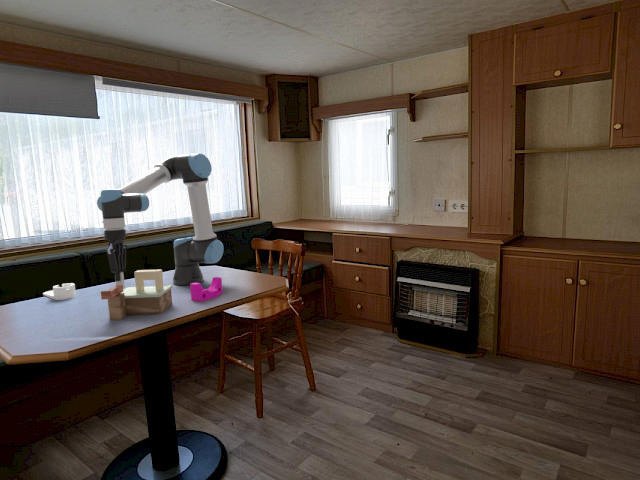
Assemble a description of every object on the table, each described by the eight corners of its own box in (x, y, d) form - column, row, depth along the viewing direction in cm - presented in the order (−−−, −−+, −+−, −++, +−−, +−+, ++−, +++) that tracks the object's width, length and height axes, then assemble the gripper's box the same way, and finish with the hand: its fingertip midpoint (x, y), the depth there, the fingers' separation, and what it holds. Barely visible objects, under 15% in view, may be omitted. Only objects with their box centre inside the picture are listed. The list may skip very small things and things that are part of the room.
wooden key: (116, 291, 167) (115, 284, 167) (124, 291, 167) (123, 284, 167) (101, 299, 156) (100, 291, 156) (110, 299, 156) (109, 291, 156)
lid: (128, 289, 181) (126, 268, 180) (172, 287, 181) (170, 266, 180) (111, 298, 167) (108, 275, 165) (159, 296, 166) (157, 273, 165)
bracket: (79, 298, 199) (77, 284, 198) (59, 303, 192) (57, 288, 191) (61, 293, 211) (59, 280, 210) (41, 297, 204) (39, 283, 203)
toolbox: (130, 305, 182) (128, 284, 181) (172, 304, 182) (170, 283, 181) (107, 319, 163) (105, 296, 161) (154, 318, 162) (152, 294, 161)
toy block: (200, 302, 184) (199, 285, 183) (191, 300, 188) (190, 283, 187) (226, 294, 197) (225, 278, 196) (216, 292, 200) (215, 276, 199)
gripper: (113, 227, 171) (118, 285, 174) (96, 231, 158) (102, 292, 161) (131, 227, 171) (137, 284, 174) (116, 230, 158) (122, 292, 161)
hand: (120, 288), depth 168 cm, fingers closed
